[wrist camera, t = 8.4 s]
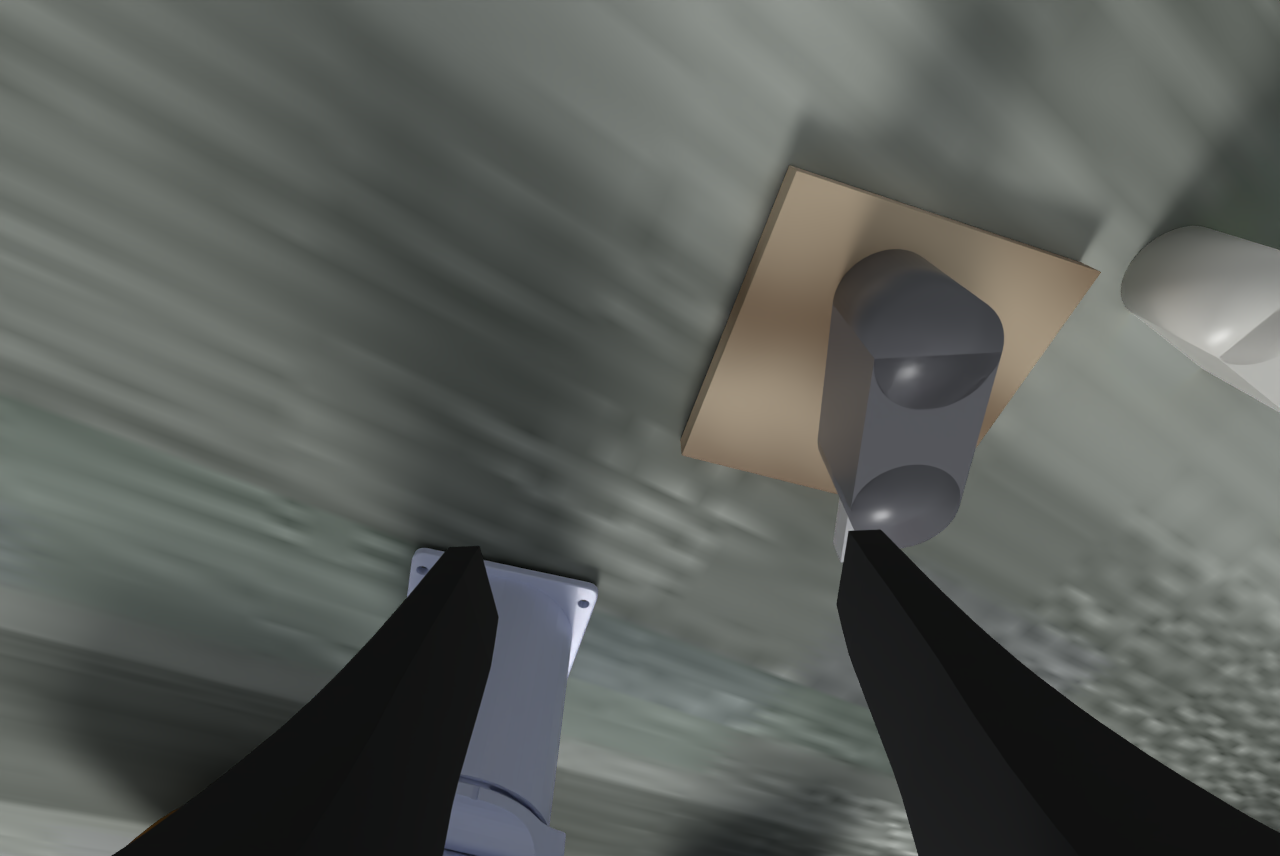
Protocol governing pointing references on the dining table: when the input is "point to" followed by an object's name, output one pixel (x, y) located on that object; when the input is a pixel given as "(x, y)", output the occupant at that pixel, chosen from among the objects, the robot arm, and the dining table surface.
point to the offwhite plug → (1213, 304)
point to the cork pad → (802, 306)
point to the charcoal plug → (904, 395)
